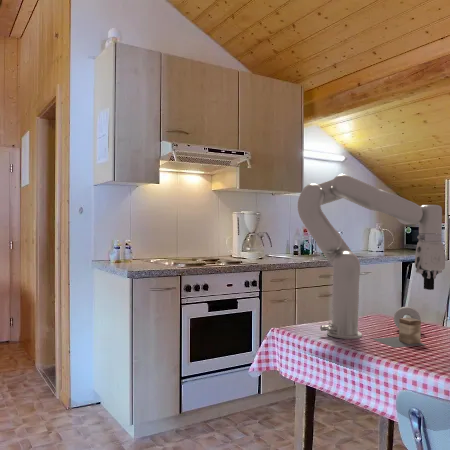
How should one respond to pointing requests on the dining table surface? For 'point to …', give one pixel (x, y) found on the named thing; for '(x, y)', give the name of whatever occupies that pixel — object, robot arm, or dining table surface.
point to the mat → (396, 342)
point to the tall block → (409, 330)
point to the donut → (403, 312)
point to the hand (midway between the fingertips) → (428, 289)
